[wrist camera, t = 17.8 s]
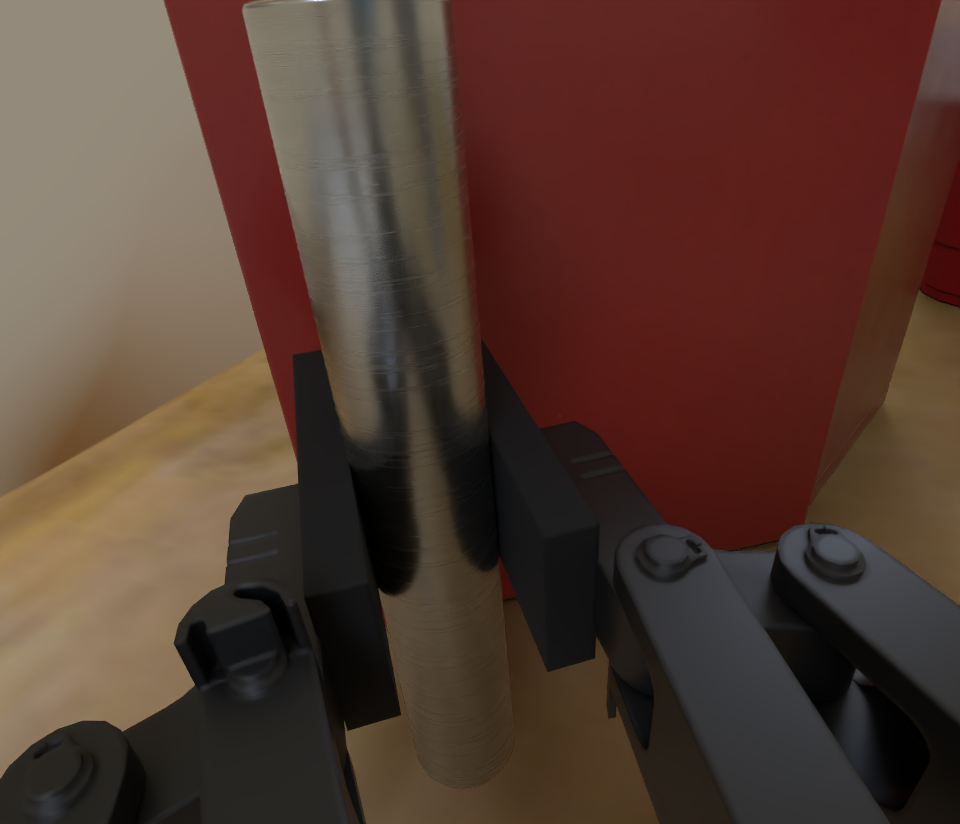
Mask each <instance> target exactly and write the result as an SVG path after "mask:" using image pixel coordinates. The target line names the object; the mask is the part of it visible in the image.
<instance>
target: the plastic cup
mask: <svg viewBox="0 0 960 824" xmlns="http://www.w3.org/2000/svg"><path fill="white" fill-rule="evenodd" d="M920 288H921V290H922V291H923V292H924V293H925V294H927V295H929V296H931V297H933V298H935V299H937V300H940V301H944V302H947V303H951V304H954V305H958V306H960V159H959V162H958V166H957V169H956V172H955V175H954V179H953V182H952V185H951V188H950V191H949V195H948V198H947V201H946V204H945V207H944V211H943V214H942V217H941V220H940V224H939V227H938V230H937V233H936V236H935V240H934V243H933V246H932V249H931V252H930V256H929V259H928V262H927V265H926V269H925V272H924V275H923V278H922V281H921V285H920Z"/></svg>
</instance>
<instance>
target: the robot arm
mask: <svg viewBox="0 0 960 824" xmlns="http://www.w3.org/2000/svg"><path fill="white" fill-rule="evenodd" d="M481 349H482V361H483V373H484V385H485V397H486V408H487V420H488V432H489V444H490V456H491V468H492V480H493V491H494V503H495V515H496V527H497V539H498V551H499V556H500V558H501V561H502V563H503V566H504V568H505V570H506V573H507V575H508V578H509V580H510V582H511V585H512V587H513V590H514V592H515V595H516V597H517V599H518V602H519V604H520V607H521V609H522V611H523V614H524V616H525V619H526V621H527V624H528V626H529V628H530V631H531V633H532V636H533V638H534V640H535V643H536V645H537V648H538V650H539V653H540V655H541V657H542V660H543V662H544V665H545V667H546V669H547V672H549V671H553V670H556V669H560V668H563V667H566V666H570V665H573V664H577V663H580V662H583V661H587V660H590V659H594V658H595V646H596V636H597V638H598V639H599V641H600V643H601V645H602V647H603V649H604V651H605V653H606V655H607V657H608V659H609V667H608V685H607V711H608V719H610V718H615V717H616V706H617V708H618V710H619V713H620V716H621V719H622V721H623V724H624V727H625V730H626V732H627V735H628V738H629V741H630V743H631V746H632V749H633V752H634V754H635V757H636V760H637V763H638V765H639V768H640V771H641V774H642V776H643V779H644V782H645V785H646V787H647V790H648V793H649V796H650V798H651V801H652V804H653V807H654V810H655V812H656V815H657V818H658V821H659V823H660V824H960V606H959V605H958V604H956V603H955V602H953V601H952V600H951V599H949V598H948V597H947V596H945V595H944V594H943V593H941V592H940V591H939V590H937V589H936V588H934V587H933V586H932V585H930V584H929V583H928V582H926V581H925V580H924V579H922V578H921V577H919V576H918V575H917V574H915V573H914V572H913V571H911V570H910V569H909V568H907V567H906V566H904V565H903V564H902V563H900V562H899V561H898V560H896V559H895V558H894V557H892V556H891V555H890V554H888V553H887V552H885V551H884V550H883V549H881V548H880V547H879V546H877V545H876V544H875V543H873V542H872V541H870V540H868V539H867V538H865V537H863V536H861V535H859V534H858V533H856V532H854V531H852V530H849V529H846V528H842V527H839V526H836V525H833V524H823V523H807V524H802V525H797V526H793V527H792V528H790V529H789V530H788V531H786V532H785V533H783V534H782V535H781V538H780V541H779V543H778V546H777V550H776V551H727V550H716V549H713V548H711V547H710V546H709V545H708V544H707V543H706V542H705V541H704V540H703V539H702V538H701V537H700V536H698V535H696V534H694V533H693V532H691V531H689V530H687V529H685V528H682V527H677V526H673V525H669V524H667V523H666V521H665V520H664V519H663V517H662V516H661V515H660V513H659V512H658V511H657V510H656V508H655V507H654V506H653V504H652V503H651V502H650V501H649V499H648V498H647V497H646V495H645V494H644V493H643V491H642V490H641V489H640V488H639V486H638V485H637V484H636V482H635V481H634V480H633V479H632V477H631V476H630V475H629V473H628V472H627V471H626V469H625V470H624V469H623V466H622V464H621V463H620V462H619V460H618V459H617V458H616V457H615V455H612V453H611V450H610V449H609V448H608V446H607V445H606V444H605V442H604V441H603V440H602V438H601V437H600V436H599V435H598V433H596V432H594V431H592V430H591V429H589V428H587V427H585V426H584V425H582V424H580V423H578V422H577V421H572V422H567V423H563V424H558V425H554V426H549V427H545V428H540V429H539V427H538V426H537V424H536V423H535V421H534V420H533V418H532V416H531V415H530V413H529V412H528V410H527V409H526V407H525V406H524V404H523V402H522V401H521V399H520V398H519V396H518V395H517V393H516V391H515V390H514V388H513V387H512V385H511V384H510V382H509V381H508V379H507V377H506V376H505V374H504V373H503V371H502V370H501V368H500V366H499V365H498V363H497V362H496V360H495V359H494V357H493V356H492V354H491V352H490V351H489V349H488V348H487V346H486V345H485V343H484V341H483V340H482V338H481ZM292 357H293V378H294V399H295V420H296V441H297V462H298V483H299V484H295V485H290V486H286V487H281V488H277V489H272V490H268V491H263V492H259V493H254V494H250V495H245V497H244V499H243V500H242V502H241V503H240V505H239V506H238V508H237V509H236V511H235V513H234V514H233V516H232V517H231V520H230V531H229V547H228V553H227V567H226V575H225V585H223V586H221V587H219V588H216V589H214V590H212V591H210V592H209V593H208V594H207V595H205V596H204V597H203V598H202V599H200V600H199V601H198V602H196V603H195V604H194V605H193V606H192V607H191V608H190V610H189V611H188V612H187V614H186V615H185V616H184V618H183V619H182V621H181V622H180V623H179V625H178V629H177V633H176V637H175V640H174V645H175V647H176V649H177V651H178V653H179V655H180V656H181V658H182V660H183V662H184V664H185V666H186V668H187V670H188V672H189V674H190V676H191V678H192V680H193V681H194V683H195V686H194V687H193V688H192V689H191V690H189V691H188V692H187V693H186V694H185V695H184V696H183V697H181V698H180V699H178V700H177V701H175V702H174V703H172V704H171V705H169V706H168V707H166V708H165V709H163V710H161V711H159V712H157V713H155V714H154V715H152V716H150V717H148V718H146V719H145V720H143V721H141V722H139V723H137V724H136V725H134V726H132V727H130V728H128V729H127V730H125V731H123V732H122V731H121V730H120V729H118V728H117V727H115V726H113V725H111V724H109V723H108V722H106V721H81V722H78V723H75V724H72V725H69V726H66V727H62V728H59V729H57V730H55V731H54V732H52V733H51V734H49V735H47V736H46V737H44V738H42V739H41V740H39V741H37V742H36V743H34V744H33V745H31V746H30V747H29V748H28V749H27V750H26V751H25V752H24V753H23V754H22V755H21V756H20V757H19V758H18V759H16V760H15V761H14V762H13V763H12V764H11V765H10V766H9V767H8V769H7V770H6V772H5V773H4V775H3V776H2V778H1V779H0V824H366V821H365V817H364V812H363V808H362V804H361V799H360V795H359V791H358V786H357V782H356V777H355V773H354V769H353V765H352V762H351V759H350V756H349V753H348V750H347V747H346V738H345V728H344V721H345V724H346V727H347V730H348V731H349V730H352V729H355V728H359V727H362V726H365V725H369V724H372V723H376V722H379V721H382V720H386V719H389V718H393V717H396V716H399V715H401V712H400V706H399V701H398V695H397V689H396V684H395V678H394V673H393V667H392V662H391V656H390V650H389V645H388V639H387V634H386V628H385V622H384V617H383V611H382V606H381V600H380V595H379V589H378V584H377V580H376V576H375V571H374V567H373V563H372V559H371V554H370V550H369V546H368V542H367V537H366V533H365V529H364V525H363V520H362V516H361V512H360V507H359V503H358V499H357V495H356V490H355V486H354V482H353V478H352V473H351V469H350V465H349V461H348V459H347V455H346V451H345V446H344V442H343V438H342V434H341V429H340V425H339V421H338V417H337V412H336V408H335V404H334V400H333V395H332V391H331V387H330V383H329V378H328V374H327V370H326V366H325V361H324V357H323V353H322V349H321V350H316V351H310V352H305V353H300V354H294V355H292Z"/></svg>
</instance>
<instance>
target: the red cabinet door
mask: <svg viewBox="0 0 960 824" xmlns="http://www.w3.org/2000/svg"><path fill="white" fill-rule="evenodd" d="M164 3H165V7H166V10H167V14H168V17H169V21H170V24H171V28H172V31H173V35H174V38H175V41H176V45H177V48H178V52H179V55H180V59H181V62H182V66H183V69H184V72H185V76H186V79H187V83H188V86H189V90H190V93H191V97H192V100H193V104H194V107H195V111H196V114H197V118H198V121H199V124H200V128H201V131H202V135H203V138H204V142H205V145H206V149H207V152H208V155H209V159H210V162H211V166H212V169H213V173H214V176H215V180H216V183H217V187H218V190H219V194H220V196H221V200H222V204H223V207H224V211H225V214H226V218H227V221H228V224H229V228H230V232H231V235H232V238H233V242H234V245H235V249H236V252H237V256H238V259H239V263H240V266H241V269H242V273H243V276H244V279H245V283H246V287H247V290H248V294H249V297H250V301H251V304H252V308H253V311H254V314H255V318H256V321H257V325H258V328H259V332H260V335H261V339H262V342H263V345H264V349H265V352H266V356H267V359H268V363H269V366H270V370H271V373H272V377H273V380H274V384H275V387H276V390H277V394H278V397H279V401H280V404H281V408H282V411H283V415H284V418H285V422H286V425H287V429H288V432H289V435H290V439H291V442H292V446H293V449H294V453H295V456H296V460H297V441H296V420H295V399H294V378H293V357H292V355H294V354H300V353H305V352H310V351H316V350H321V349H322V353H323V357H324V361H325V366H326V370H327V374H328V378H329V383H330V387H331V391H332V395H333V400H334V404H335V408H336V412H337V417H338V421H339V425H340V429H341V434H342V438H343V442H344V446H345V451H346V455H347V459H348V461H349V465H350V469H351V473H352V478H353V482H354V486H355V490H356V495H357V499H358V503H359V507H360V512H361V516H362V520H363V525H364V529H365V533H366V537H367V542H368V546H369V550H370V554H371V559H372V563H373V567H374V571H375V576H376V580H377V584H378V589H379V595H380V600H381V606H382V611H383V617H384V622H385V626H386V625H387V629H388V633H389V637H390V642H391V646H392V650H393V654H394V659H395V663H396V667H397V671H398V676H399V680H400V684H401V688H402V693H403V697H404V701H405V705H406V710H407V714H408V718H409V722H410V727H411V731H412V735H413V739H414V744H415V748H416V752H417V756H418V759H419V762H420V764H421V766H422V767H423V769H424V770H425V772H426V773H427V774H428V775H429V776H430V777H431V778H433V779H434V780H435V781H437V782H439V783H440V784H443V785H445V786H448V787H452V788H459V789H465V788H472V787H476V786H479V785H482V784H484V783H486V782H488V781H489V780H491V779H493V778H494V777H495V776H496V775H497V774H498V773H499V772H500V771H501V770H502V769H503V768H504V766H505V765H506V763H507V762H508V760H509V758H510V756H511V753H512V750H513V745H514V728H513V716H512V704H511V693H510V681H509V669H508V657H507V645H506V633H505V622H504V610H503V600H506V599H510V598H515V597H516V595H515V592H514V590H513V587H512V585H511V582H510V580H509V578H508V575H507V573H506V570H505V568H504V566H503V563H502V561H501V558H500V556H499V551H498V539H497V527H496V515H495V503H494V491H493V480H492V468H491V456H490V444H489V432H488V420H487V408H486V397H485V385H484V373H483V361H482V349H481V338H482V340H483V341H484V343H485V345H486V346H487V348H488V349H489V351H490V352H491V354H492V356H493V357H494V359H495V360H496V362H497V363H498V365H499V366H500V368H501V370H502V371H503V373H504V374H505V376H506V377H507V379H508V381H509V382H510V384H511V385H512V387H513V388H514V390H515V391H516V393H517V395H518V396H519V398H520V399H521V401H522V402H523V404H524V406H525V407H526V409H527V410H528V412H529V413H530V415H531V416H532V418H533V420H534V421H535V423H536V424H537V426H538V427H539V429H540V428H545V427H549V426H554V425H558V424H563V423H567V422H572V421H577V422H578V423H580V424H582V425H584V426H585V427H587V428H589V429H591V430H592V431H594V432H596V433H598V435H599V436H600V437H601V438H602V440H603V441H604V442H605V444H606V445H607V446H608V448H609V449H610V450H611V453H612V455H615V457H616V458H617V459H618V460H619V462H620V463H621V464H622V466H623V469H624V470H625V469H626V471H627V472H628V473H629V475H630V476H631V477H632V479H633V480H634V481H635V482H636V484H637V485H638V486H639V488H640V489H641V490H642V491H643V493H644V494H645V495H646V497H647V498H648V499H649V501H650V502H651V503H652V504H653V506H654V507H655V508H656V510H657V511H658V512H659V513H660V515H661V516H662V517H663V519H664V520H665V521H666V523H667V524H669V525H673V526H677V527H682V528H685V529H687V530H689V531H691V532H693V533H694V534H696V535H698V536H700V537H701V538H702V539H703V540H704V541H705V542H706V543H707V544H708V545H709V546H710V547H711V548H713V549H716V550H727V551H730V550H735V549H740V548H744V547H749V546H753V545H758V544H763V543H767V542H772V541H776V540H780V538H781V535H782V534H783V533H785V532H786V531H788V530H789V529H790V528H792V527H793V526H797V525H802V524H804V522H805V518H806V515H807V511H808V507H809V503H810V499H811V496H812V492H813V488H814V484H815V480H816V477H817V473H818V469H819V465H820V461H821V458H822V454H823V450H824V446H825V443H826V439H827V435H828V431H829V427H830V424H831V420H832V416H833V412H834V408H835V405H836V401H837V397H838V393H839V389H840V386H841V382H842V378H843V374H844V370H845V367H846V363H847V359H848V355H849V352H850V348H851V344H852V340H853V336H854V333H855V329H856V325H857V321H858V317H859V314H860V310H861V306H862V302H863V298H864V295H865V291H866V287H867V283H868V279H869V276H870V272H871V268H872V264H873V261H874V257H875V253H876V249H877V245H878V242H879V238H880V234H881V230H882V226H883V223H884V219H885V215H886V211H887V207H888V204H889V200H890V196H891V192H892V188H893V185H894V181H895V177H896V173H897V169H898V166H899V162H900V158H901V154H902V151H903V147H904V143H905V139H906V135H907V132H908V128H909V124H910V120H911V116H912V113H913V109H914V105H915V101H916V97H917V94H918V90H919V86H920V82H921V78H922V75H923V71H924V67H925V63H926V60H927V56H928V52H929V48H930V44H931V41H932V37H933V33H934V29H935V25H936V22H937V18H938V14H939V10H940V6H941V3H942V0H164ZM297 463H298V462H297Z"/></svg>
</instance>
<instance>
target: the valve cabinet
mask: <svg viewBox="0 0 960 824" xmlns="http://www.w3.org/2000/svg"><path fill="white" fill-rule="evenodd" d="M959 159H960V0H942V3H941V6H940V10H939V14H938V18H937V22H936V25H935V29H934V33H933V37H932V41H931V44H930V48H929V52H928V56H927V60H926V63H925V67H924V71H923V75H922V78H921V82H920V86H919V90H918V94H917V97H916V101H915V105H914V109H913V113H912V116H911V120H910V124H909V128H908V132H907V135H906V139H905V143H904V147H903V151H902V154H901V158H900V162H899V166H898V169H897V173H896V177H895V181H894V185H893V188H892V192H891V196H890V200H889V204H888V207H887V211H886V215H885V219H884V223H883V226H882V230H881V234H880V238H879V242H878V245H877V249H876V253H875V257H874V261H873V264H872V268H871V272H870V276H869V279H868V283H867V287H866V291H865V295H864V298H863V302H862V306H861V310H860V314H859V317H858V321H857V325H856V329H855V333H854V336H853V340H852V344H851V348H850V352H849V355H848V359H847V363H846V367H845V370H844V374H843V378H842V382H841V386H840V389H839V393H838V397H837V401H836V405H835V408H834V412H833V416H832V420H831V424H830V427H829V431H828V435H827V439H826V443H825V446H824V450H823V454H822V458H821V461H820V465H819V469H818V473H817V477H816V480H815V484H814V488H813V492H812V496H811V499H810V503H809V505H810V504H811V502H812V501H813V499H814V498H815V497H816V495H817V494H818V492H819V491H820V490H821V488H822V487H823V486H824V484H825V483H826V481H827V480H828V479H829V477H830V476H831V474H832V473H833V472H834V470H835V469H836V467H837V466H838V465H839V463H840V462H841V460H842V459H843V458H844V456H845V455H846V454H847V452H848V451H849V449H850V448H851V447H852V445H853V444H854V442H855V441H856V440H857V438H858V437H859V435H860V434H861V433H862V431H863V430H864V428H865V427H866V426H867V424H868V423H869V422H870V420H871V419H872V417H873V416H874V415H875V413H876V412H877V410H878V409H879V408H880V406H881V405H882V403H883V402H884V400H885V397H886V394H887V391H888V388H889V383H890V381H891V378H892V375H893V371H894V368H895V365H896V362H897V359H898V355H899V352H900V349H901V346H902V342H903V339H904V336H905V333H906V330H907V326H908V323H909V320H910V317H911V314H912V310H913V307H914V304H915V301H916V297H917V294H918V291H919V288H920V285H921V281H922V278H923V275H924V272H925V269H926V265H927V262H928V259H929V256H930V252H931V249H932V246H933V243H934V240H935V236H936V233H937V230H938V227H939V224H940V220H941V217H942V214H943V211H944V207H945V204H946V201H947V198H948V195H949V191H950V188H951V185H952V182H953V179H954V175H955V172H956V169H957V166H958V162H959Z"/></svg>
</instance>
